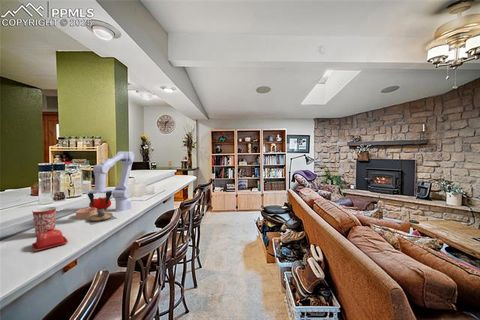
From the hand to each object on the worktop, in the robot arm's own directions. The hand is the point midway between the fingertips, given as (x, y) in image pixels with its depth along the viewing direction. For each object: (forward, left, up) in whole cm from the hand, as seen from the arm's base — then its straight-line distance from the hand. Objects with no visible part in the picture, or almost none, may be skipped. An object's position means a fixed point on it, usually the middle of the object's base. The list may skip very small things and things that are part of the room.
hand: (99, 204), depth 127 cm
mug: (+25, +1, -10) cm, 27 cm away
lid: (0, 0, -9) cm, 9 cm away
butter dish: (+26, +21, -10) cm, 35 cm away
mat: (0, 0, -10) cm, 10 cm away
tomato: (-8, -27, -10) cm, 30 cm away
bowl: (+4, -14, -10) cm, 17 cm away
